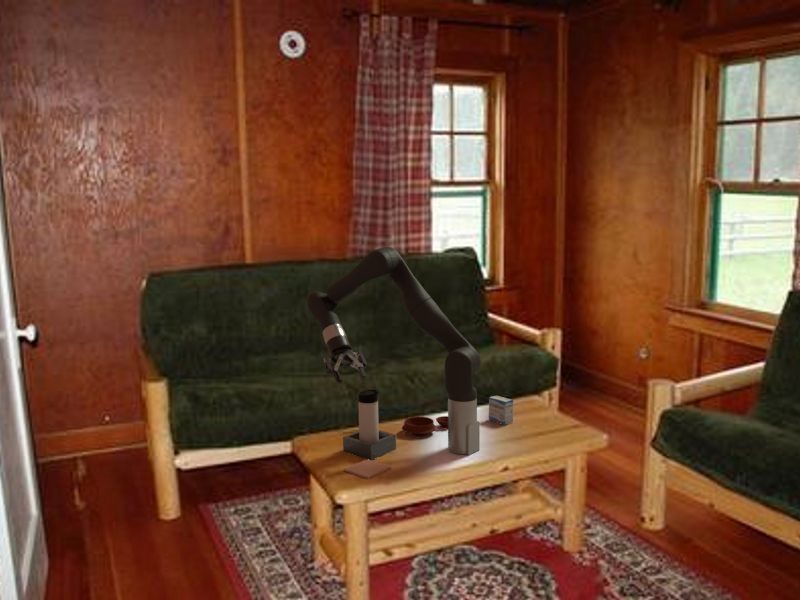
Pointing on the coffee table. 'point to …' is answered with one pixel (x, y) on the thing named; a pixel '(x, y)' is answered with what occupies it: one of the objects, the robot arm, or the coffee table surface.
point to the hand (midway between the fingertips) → (352, 380)
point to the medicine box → (500, 410)
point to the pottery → (423, 425)
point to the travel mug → (368, 416)
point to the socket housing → (369, 445)
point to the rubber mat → (367, 468)
